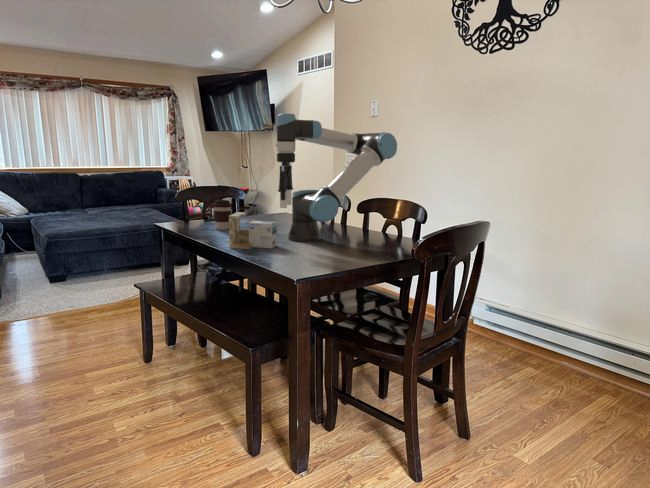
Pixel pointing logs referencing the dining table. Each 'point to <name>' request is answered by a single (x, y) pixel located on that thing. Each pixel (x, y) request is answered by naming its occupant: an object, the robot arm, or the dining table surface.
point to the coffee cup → (222, 214)
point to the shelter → (238, 232)
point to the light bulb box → (263, 234)
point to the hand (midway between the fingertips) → (285, 206)
